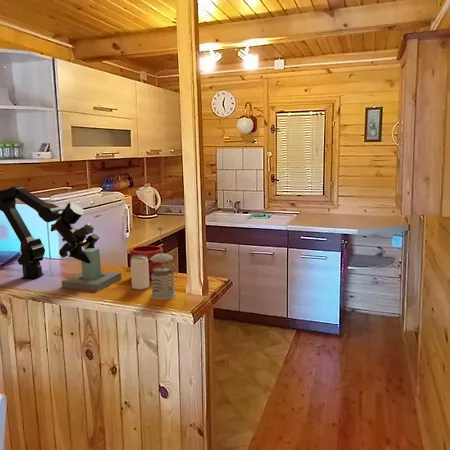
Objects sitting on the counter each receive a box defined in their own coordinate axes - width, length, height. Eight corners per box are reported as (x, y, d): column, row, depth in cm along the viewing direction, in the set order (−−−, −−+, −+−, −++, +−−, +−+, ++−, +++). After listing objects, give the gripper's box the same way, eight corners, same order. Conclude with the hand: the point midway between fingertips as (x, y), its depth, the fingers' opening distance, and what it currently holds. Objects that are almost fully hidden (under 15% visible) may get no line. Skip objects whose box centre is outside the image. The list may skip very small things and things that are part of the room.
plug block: (82, 280, 173) (80, 250, 170) (90, 277, 177) (88, 248, 175) (93, 282, 171) (91, 251, 169) (101, 278, 176) (99, 248, 173)
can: (147, 289, 165) (146, 258, 163) (130, 290, 165) (128, 259, 163) (150, 284, 171) (149, 254, 169) (133, 284, 171) (132, 254, 169)
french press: (164, 288, 166) (161, 223, 161) (186, 295, 158) (183, 226, 154) (143, 296, 158) (140, 227, 154) (166, 303, 151) (163, 231, 146)
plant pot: (160, 281, 175) (159, 251, 173) (127, 281, 176) (126, 251, 174) (166, 271, 188) (165, 244, 186) (136, 271, 189) (134, 244, 187)
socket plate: (62, 287, 169) (61, 281, 169) (87, 275, 184) (87, 269, 184) (97, 291, 164) (97, 284, 164) (121, 278, 179) (120, 272, 179)
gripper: (62, 222, 162) (90, 253, 161) (93, 214, 180) (118, 242, 178) (47, 242, 166) (74, 272, 165) (79, 232, 184) (103, 260, 182)
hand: (93, 261), depth 172 cm, fingers closed on plug block, 5 cm apart
